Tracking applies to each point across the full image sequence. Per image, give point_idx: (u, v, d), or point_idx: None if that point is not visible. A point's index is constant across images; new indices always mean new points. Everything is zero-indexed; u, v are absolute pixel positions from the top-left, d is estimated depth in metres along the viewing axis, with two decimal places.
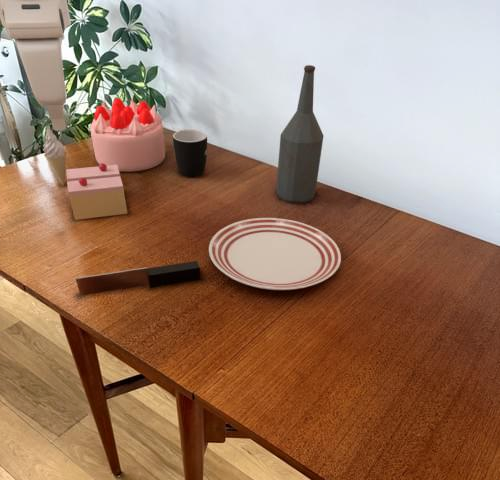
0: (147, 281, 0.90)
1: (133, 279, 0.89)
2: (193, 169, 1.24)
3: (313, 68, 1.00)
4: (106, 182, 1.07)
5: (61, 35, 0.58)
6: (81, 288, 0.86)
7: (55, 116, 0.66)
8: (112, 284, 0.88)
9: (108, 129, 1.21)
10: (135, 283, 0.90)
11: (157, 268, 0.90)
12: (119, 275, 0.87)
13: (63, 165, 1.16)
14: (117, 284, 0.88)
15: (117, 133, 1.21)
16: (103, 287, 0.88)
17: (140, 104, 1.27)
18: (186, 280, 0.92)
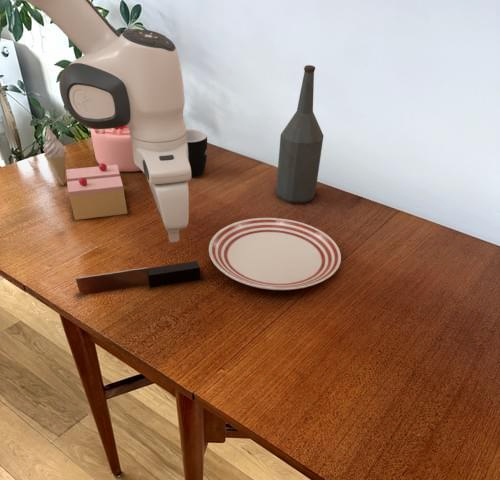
0: (147, 281, 0.90)
1: (133, 279, 0.89)
2: (193, 169, 1.24)
3: (313, 68, 1.00)
4: (106, 182, 1.07)
5: (190, 179, 0.70)
6: (81, 288, 0.86)
7: (172, 232, 0.79)
8: (112, 284, 0.88)
9: (108, 129, 1.21)
10: (135, 283, 0.90)
11: (157, 268, 0.90)
12: (119, 275, 0.87)
13: (63, 165, 1.16)
14: (117, 284, 0.88)
15: (117, 133, 1.21)
16: (103, 287, 0.88)
17: None
18: (186, 280, 0.92)
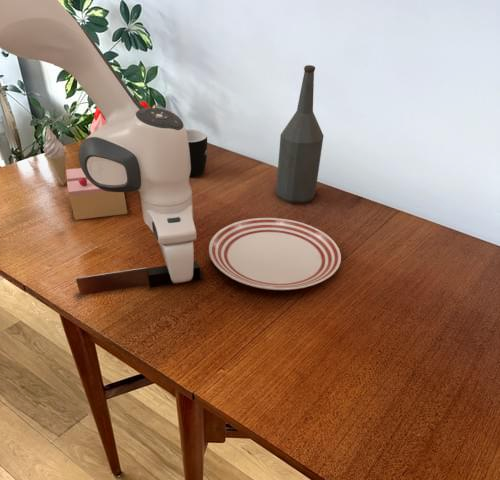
0: (147, 281, 0.90)
1: (133, 279, 0.89)
2: (193, 169, 1.24)
3: (313, 68, 1.00)
4: None
5: None
6: (81, 288, 0.86)
7: None
8: (112, 284, 0.88)
9: None
10: (135, 283, 0.90)
11: (157, 268, 0.90)
12: (119, 275, 0.87)
13: (63, 165, 1.16)
14: (117, 284, 0.88)
15: None
16: (103, 287, 0.88)
17: None
18: None
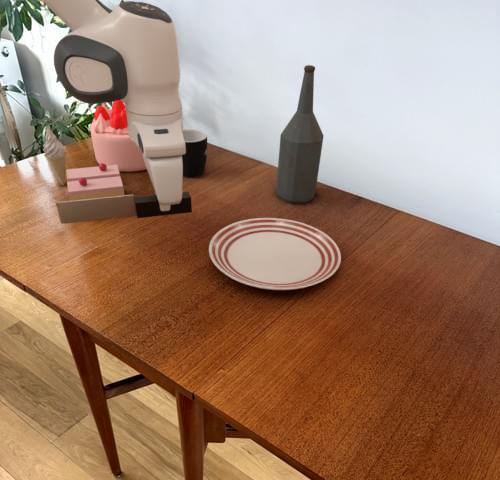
0: (134, 211, 0.83)
1: (119, 208, 0.82)
2: (193, 169, 1.24)
3: (313, 68, 1.00)
4: (106, 182, 1.07)
5: (184, 153, 0.71)
6: (62, 215, 0.80)
7: None
8: (96, 212, 0.81)
9: (108, 129, 1.21)
10: (121, 213, 0.83)
11: (145, 197, 0.83)
12: (103, 202, 0.81)
13: (63, 165, 1.16)
14: (101, 212, 0.82)
15: (117, 133, 1.21)
16: (86, 215, 0.81)
17: None
18: (176, 212, 0.85)
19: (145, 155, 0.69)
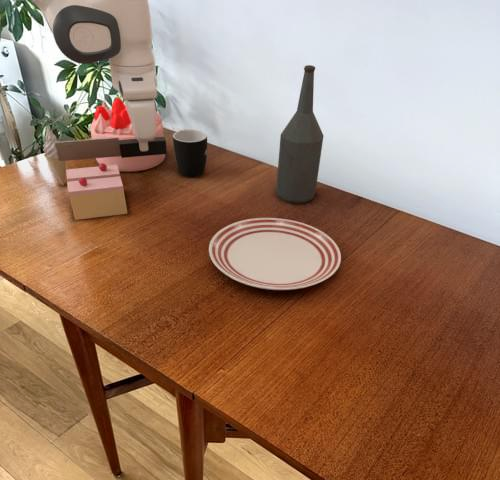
0: (119, 152, 1.01)
1: (106, 149, 1.00)
2: (193, 169, 1.24)
3: (313, 68, 1.00)
4: (106, 182, 1.07)
5: (156, 97, 0.89)
6: (59, 153, 0.98)
7: (142, 142, 0.99)
8: (87, 152, 0.99)
9: (108, 129, 1.21)
10: (108, 153, 1.01)
11: (128, 140, 1.01)
12: (93, 143, 0.98)
13: (63, 165, 1.16)
14: (92, 152, 1.00)
15: (117, 133, 1.21)
16: (79, 154, 0.99)
17: None
18: (154, 153, 1.03)
19: (124, 98, 0.87)
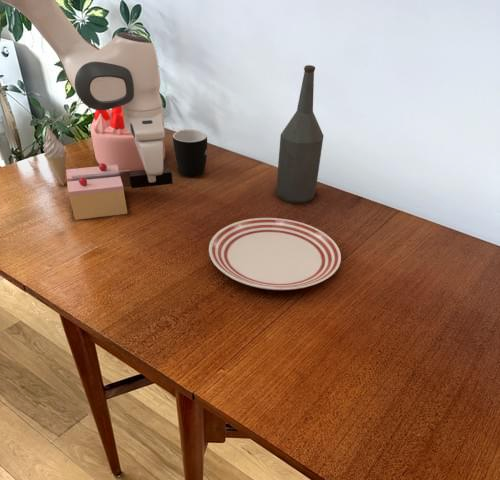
0: (129, 183, 1.12)
1: None
2: (193, 169, 1.24)
3: (313, 68, 1.00)
4: (106, 182, 1.07)
5: (164, 137, 0.99)
6: None
7: None
8: None
9: (108, 129, 1.21)
10: None
11: (137, 172, 1.11)
12: (106, 175, 1.09)
13: (63, 165, 1.16)
14: None
15: (117, 133, 1.21)
16: None
17: None
18: (161, 183, 1.13)
19: (136, 139, 0.98)
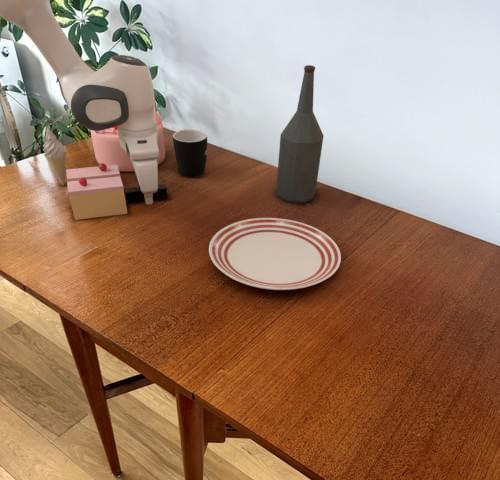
0: (125, 198, 1.14)
1: None
2: (193, 169, 1.24)
3: (313, 68, 1.00)
4: (106, 182, 1.07)
5: (158, 157, 1.02)
6: None
7: (147, 196, 1.10)
8: None
9: (108, 129, 1.21)
10: None
11: (132, 188, 1.14)
12: None
13: (63, 165, 1.16)
14: None
15: (117, 133, 1.21)
16: None
17: None
18: (156, 199, 1.16)
19: (131, 158, 1.00)
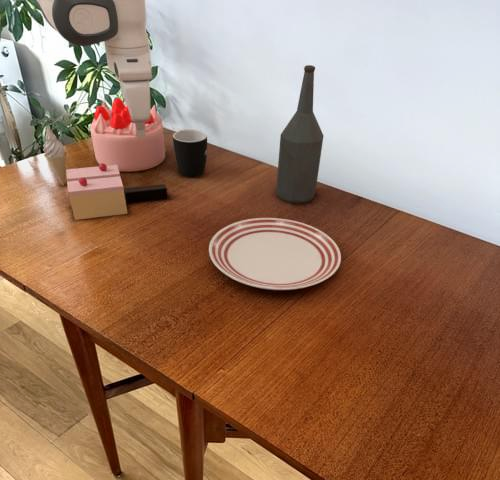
0: (125, 198, 1.14)
1: None
2: (193, 169, 1.24)
3: (313, 68, 1.00)
4: (106, 182, 1.07)
5: (150, 78, 0.91)
6: None
7: (139, 128, 0.99)
8: None
9: (108, 129, 1.21)
10: None
11: (132, 188, 1.14)
12: None
13: (63, 165, 1.16)
14: None
15: (117, 133, 1.21)
16: None
17: None
18: (156, 199, 1.16)
19: (120, 78, 0.89)
